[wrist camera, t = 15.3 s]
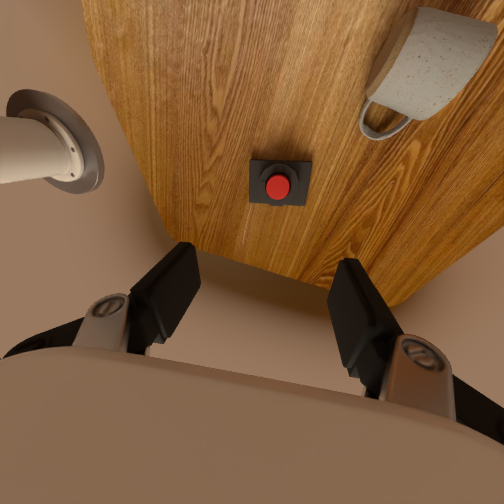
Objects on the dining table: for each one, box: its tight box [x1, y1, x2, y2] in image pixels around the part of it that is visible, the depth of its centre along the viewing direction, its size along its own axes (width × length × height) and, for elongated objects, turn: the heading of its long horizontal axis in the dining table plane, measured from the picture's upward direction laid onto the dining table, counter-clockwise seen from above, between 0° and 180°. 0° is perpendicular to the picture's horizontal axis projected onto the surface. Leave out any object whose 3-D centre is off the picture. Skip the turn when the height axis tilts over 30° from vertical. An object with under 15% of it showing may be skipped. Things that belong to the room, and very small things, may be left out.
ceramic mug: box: [359, 7, 498, 140], centre depth 21 cm, size 11×8×8 cm
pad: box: [249, 159, 312, 206], centre depth 31 cm, size 10×7×3 cm
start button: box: [266, 174, 289, 200], centre depth 29 cm, size 4×4×2 cm
